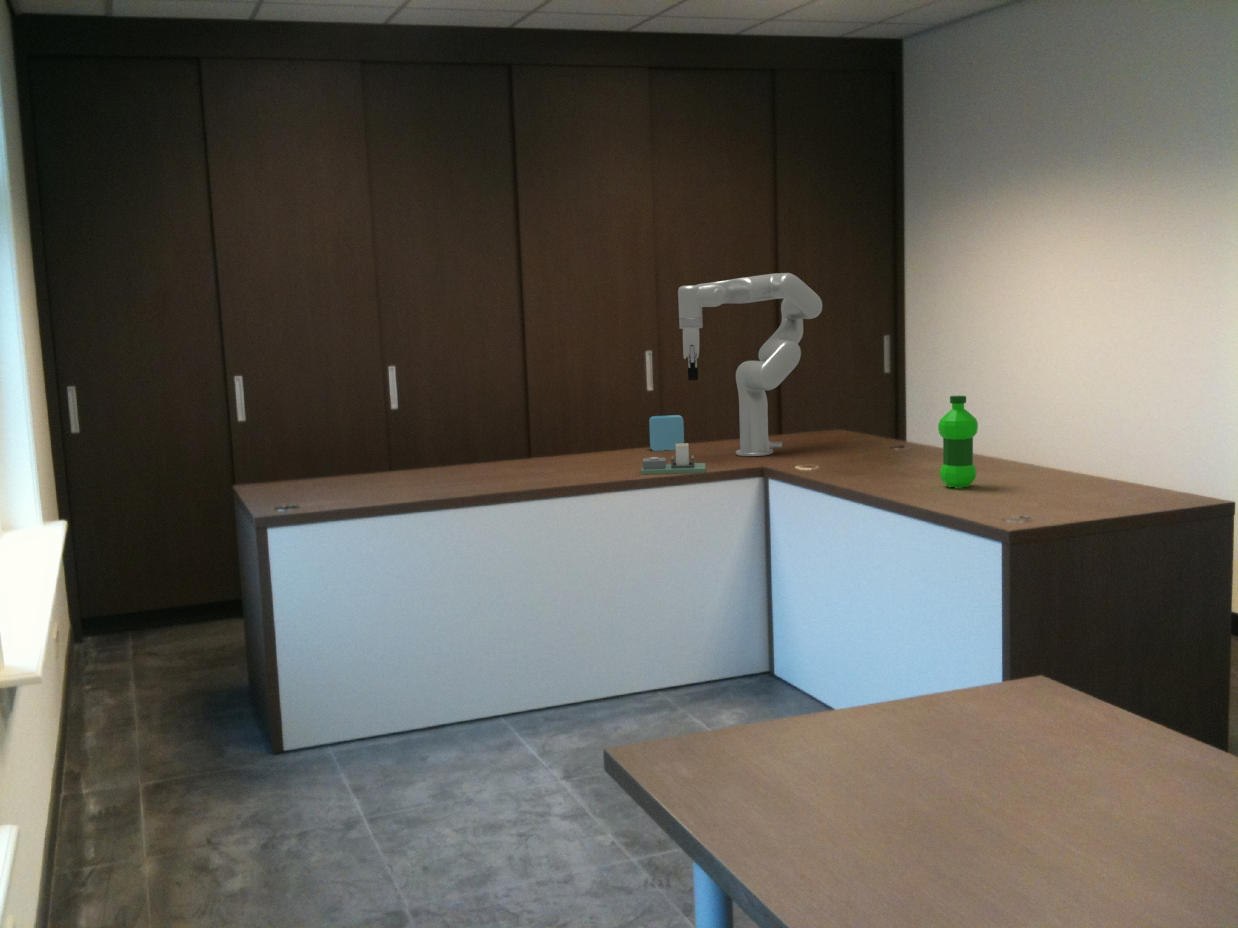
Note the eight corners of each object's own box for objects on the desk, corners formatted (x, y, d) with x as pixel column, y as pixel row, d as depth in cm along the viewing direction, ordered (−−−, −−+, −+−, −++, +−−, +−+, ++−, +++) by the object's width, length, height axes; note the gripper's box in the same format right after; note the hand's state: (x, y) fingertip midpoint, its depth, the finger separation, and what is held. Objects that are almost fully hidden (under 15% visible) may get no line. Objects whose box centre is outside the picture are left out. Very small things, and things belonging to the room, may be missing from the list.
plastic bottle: (965, 482, 341) (965, 393, 338) (984, 488, 331) (984, 396, 328) (932, 485, 339) (932, 395, 336) (950, 491, 329) (950, 399, 325)
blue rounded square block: (683, 448, 436) (682, 414, 434) (684, 450, 431) (683, 416, 429) (650, 449, 436) (649, 416, 434) (650, 451, 431) (649, 417, 429)
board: (705, 466, 390) (704, 453, 389) (705, 472, 378) (705, 458, 378) (642, 468, 391) (642, 455, 391) (641, 474, 380) (640, 460, 379)
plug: (689, 465, 386) (688, 442, 385) (689, 467, 382) (688, 444, 381) (676, 465, 386) (675, 442, 385) (676, 467, 383) (675, 444, 381)
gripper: (679, 323, 404) (681, 378, 407) (679, 325, 389) (681, 382, 392) (702, 322, 403) (704, 377, 406) (702, 324, 389) (705, 381, 391)
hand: (693, 379), depth 399 cm, fingers closed
